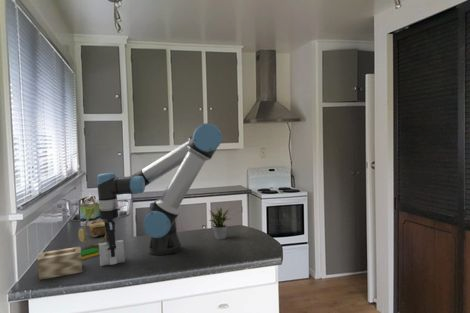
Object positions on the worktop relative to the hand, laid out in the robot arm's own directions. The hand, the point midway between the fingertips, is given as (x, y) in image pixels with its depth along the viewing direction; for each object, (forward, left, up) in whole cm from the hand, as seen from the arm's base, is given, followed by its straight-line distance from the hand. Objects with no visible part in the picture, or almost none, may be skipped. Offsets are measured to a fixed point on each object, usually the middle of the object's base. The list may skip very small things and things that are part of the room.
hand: (112, 261), depth 158 cm
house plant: (-40, -38, -1) cm, 55 cm away
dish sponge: (+19, -8, -1) cm, 21 cm away
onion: (+34, -44, -1) cm, 56 cm away
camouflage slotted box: (+16, +11, -1) cm, 20 cm away
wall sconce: (+24, -25, -1) cm, 35 cm away
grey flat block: (0, 0, -1) cm, 1 cm away
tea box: (+58, -75, -1) cm, 95 cm away
